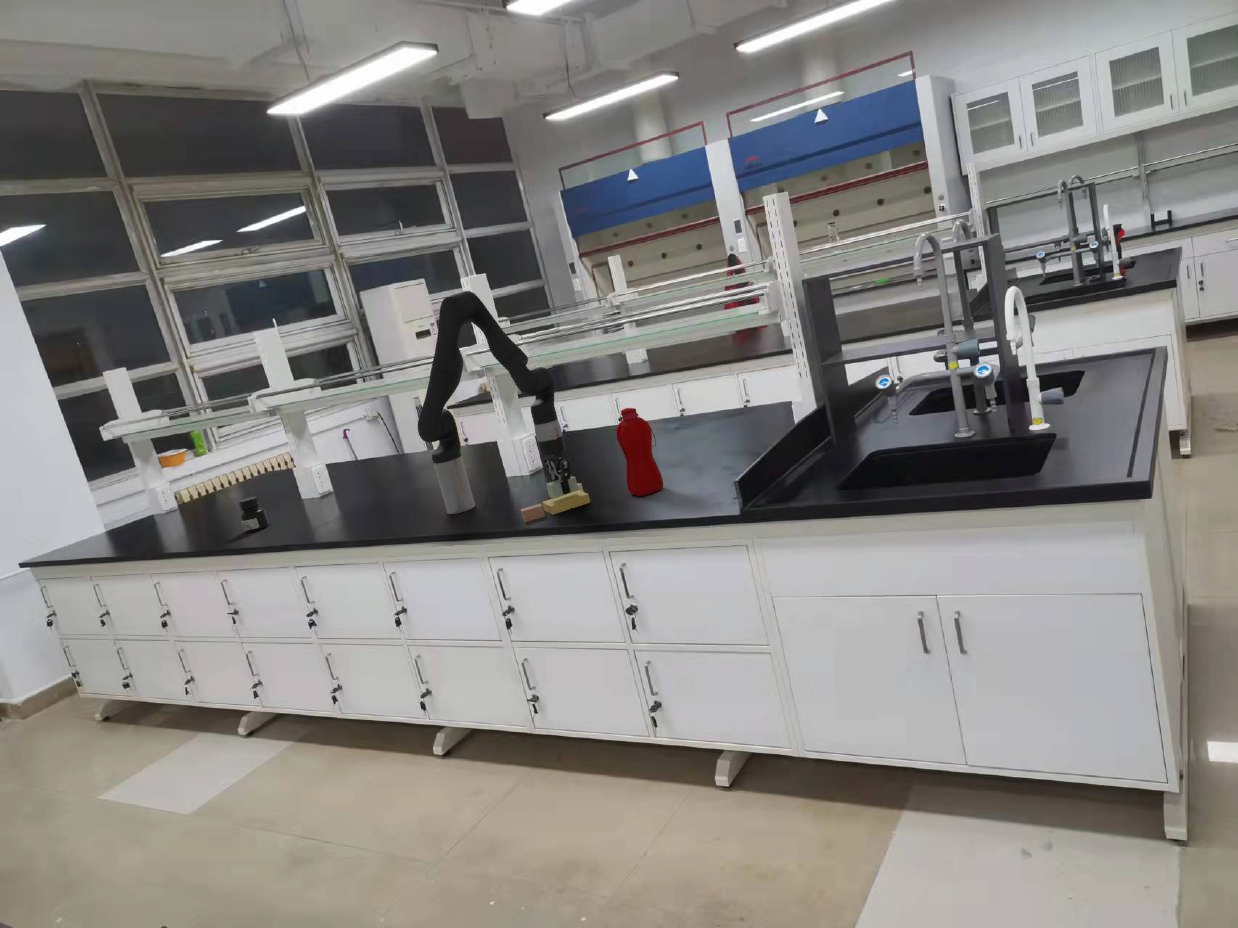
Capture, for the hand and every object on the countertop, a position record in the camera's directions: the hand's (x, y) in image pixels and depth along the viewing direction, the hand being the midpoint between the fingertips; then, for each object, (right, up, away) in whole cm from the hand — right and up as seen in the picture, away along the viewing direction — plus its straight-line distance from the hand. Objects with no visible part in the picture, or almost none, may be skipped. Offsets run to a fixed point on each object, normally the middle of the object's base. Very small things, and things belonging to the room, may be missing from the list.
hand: (563, 492), depth 254 cm
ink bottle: (-121, -16, +73) cm, 142 cm away
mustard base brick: (+1, -5, +1) cm, 5 cm away
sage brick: (0, 0, 0) cm, 0 cm away
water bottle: (+25, 0, -3) cm, 25 cm away
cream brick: (+2, -1, +12) cm, 12 cm away
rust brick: (-8, -8, -4) cm, 12 cm away
